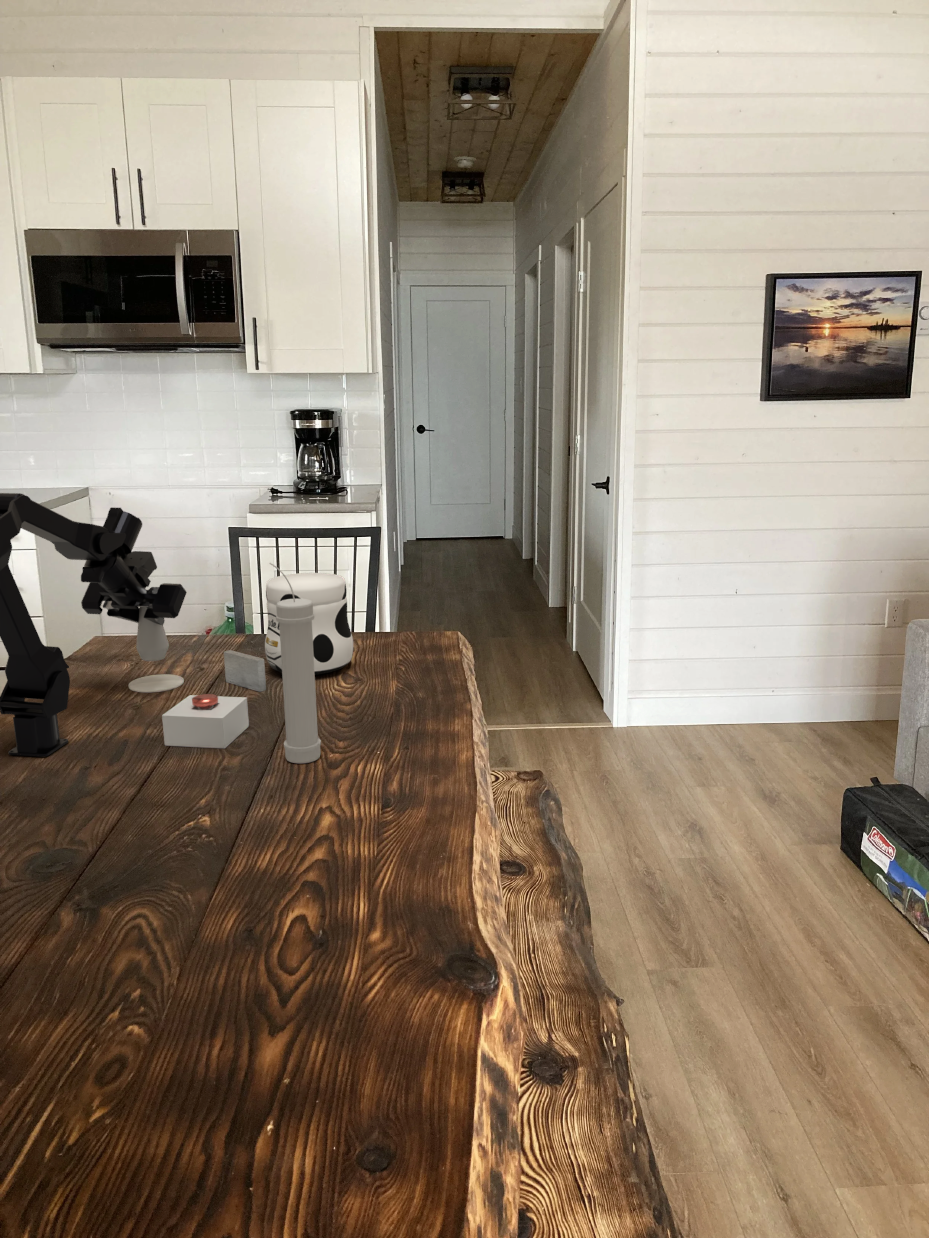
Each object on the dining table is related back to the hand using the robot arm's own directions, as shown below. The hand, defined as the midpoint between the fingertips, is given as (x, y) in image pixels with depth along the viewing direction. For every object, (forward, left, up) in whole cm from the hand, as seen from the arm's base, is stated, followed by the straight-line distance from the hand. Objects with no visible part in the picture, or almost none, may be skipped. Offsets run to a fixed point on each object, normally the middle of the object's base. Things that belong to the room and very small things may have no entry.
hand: (154, 622), depth 178 cm
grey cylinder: (-33, -39, -12) cm, 52 cm away
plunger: (-26, -21, -11) cm, 35 cm away
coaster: (-1, 0, -12) cm, 12 cm away
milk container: (+12, -26, -12) cm, 31 cm away
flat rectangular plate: (0, -17, -12) cm, 21 cm away
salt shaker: (-1, 0, -7) cm, 7 cm away
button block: (-26, -21, -12) cm, 35 cm away
